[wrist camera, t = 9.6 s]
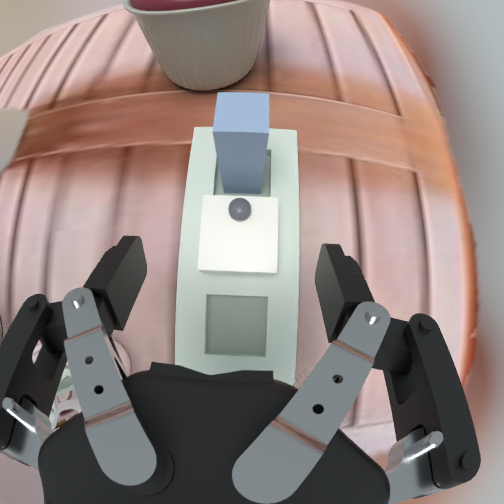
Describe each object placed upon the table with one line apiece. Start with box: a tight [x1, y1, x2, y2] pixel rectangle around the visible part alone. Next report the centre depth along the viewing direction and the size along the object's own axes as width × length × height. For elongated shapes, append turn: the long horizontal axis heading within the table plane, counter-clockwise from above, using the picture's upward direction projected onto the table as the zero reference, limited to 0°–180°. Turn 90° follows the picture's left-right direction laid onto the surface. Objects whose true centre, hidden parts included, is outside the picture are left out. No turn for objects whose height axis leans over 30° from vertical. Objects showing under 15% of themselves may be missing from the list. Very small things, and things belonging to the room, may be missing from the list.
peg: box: [212, 92, 269, 195], centre depth 24 cm, size 4×4×12 cm
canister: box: [123, 0, 270, 91], centre depth 24 cm, size 18×18×21 cm
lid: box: [198, 195, 278, 275], centre depth 26 cm, size 7×7×3 cm
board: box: [175, 127, 299, 385], centre depth 29 cm, size 12×28×2 cm, turn 178°
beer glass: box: [32, 340, 131, 431], centre depth 20 cm, size 7×7×15 cm
